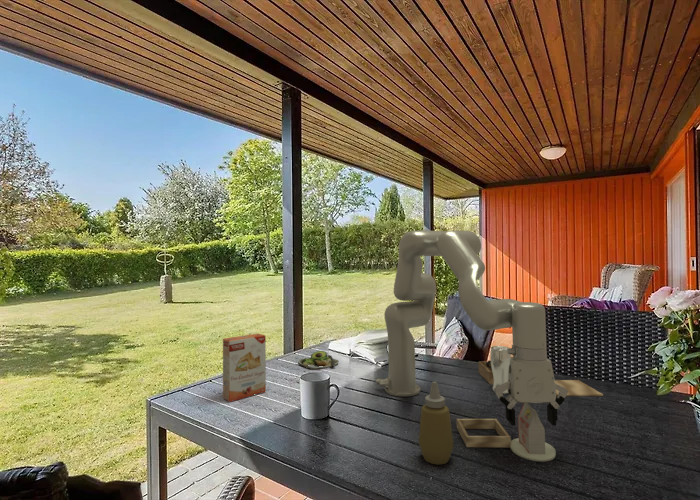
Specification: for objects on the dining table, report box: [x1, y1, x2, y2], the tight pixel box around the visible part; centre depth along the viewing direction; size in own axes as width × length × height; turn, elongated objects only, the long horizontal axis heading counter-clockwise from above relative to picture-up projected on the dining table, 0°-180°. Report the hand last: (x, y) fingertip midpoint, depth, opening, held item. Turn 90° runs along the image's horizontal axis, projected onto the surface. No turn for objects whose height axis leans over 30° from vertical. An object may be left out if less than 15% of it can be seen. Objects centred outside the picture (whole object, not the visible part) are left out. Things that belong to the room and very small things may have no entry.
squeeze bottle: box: [418, 381, 454, 465], centre depth 91 cm, size 8×8×18 cm
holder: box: [456, 418, 512, 448], centre depth 101 cm, size 11×11×2 cm
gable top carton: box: [517, 403, 546, 454], centre depth 93 cm, size 4×7×10 cm, turn 176°
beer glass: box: [490, 345, 512, 395], centre depth 135 cm, size 7×7×15 cm
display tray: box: [478, 360, 494, 385], centre depth 148 cm, size 14×14×4 cm
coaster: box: [509, 437, 557, 462], centre depth 93 cm, size 10×10×1 cm
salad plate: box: [298, 350, 340, 370], centre depth 173 cm, size 19×18×5 cm
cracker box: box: [222, 333, 267, 403], centre depth 136 cm, size 14×6×21 cm, turn 131°
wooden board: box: [555, 379, 604, 397], centre depth 136 cm, size 17×15×1 cm
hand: (531, 423), depth 93 cm, fingers open, 9 cm apart
